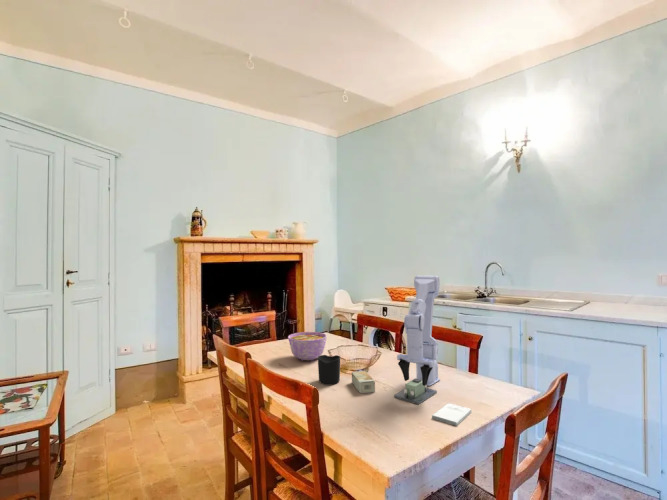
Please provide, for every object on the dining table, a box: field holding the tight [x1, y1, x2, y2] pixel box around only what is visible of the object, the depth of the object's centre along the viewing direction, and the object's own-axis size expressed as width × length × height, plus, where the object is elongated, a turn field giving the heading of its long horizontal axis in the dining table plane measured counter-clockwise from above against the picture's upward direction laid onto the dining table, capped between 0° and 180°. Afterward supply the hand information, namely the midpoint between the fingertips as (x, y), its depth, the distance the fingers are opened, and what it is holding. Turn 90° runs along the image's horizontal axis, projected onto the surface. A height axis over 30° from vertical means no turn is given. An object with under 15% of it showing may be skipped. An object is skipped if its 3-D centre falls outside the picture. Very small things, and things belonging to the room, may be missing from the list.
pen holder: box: [317, 354, 341, 386], centre depth 151 cm, size 9×9×10 cm
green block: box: [404, 377, 425, 397], centre depth 134 cm, size 7×4×5 cm, turn 138°
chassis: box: [393, 385, 438, 405], centre depth 134 cm, size 14×10×3 cm
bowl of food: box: [287, 331, 328, 361], centre depth 184 cm, size 20×20×12 cm
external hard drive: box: [431, 402, 472, 427], centre depth 117 cm, size 2×8×12 cm
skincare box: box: [351, 370, 376, 394], centre depth 143 cm, size 6×4×12 cm
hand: (415, 382), depth 135 cm, fingers open, 7 cm apart
